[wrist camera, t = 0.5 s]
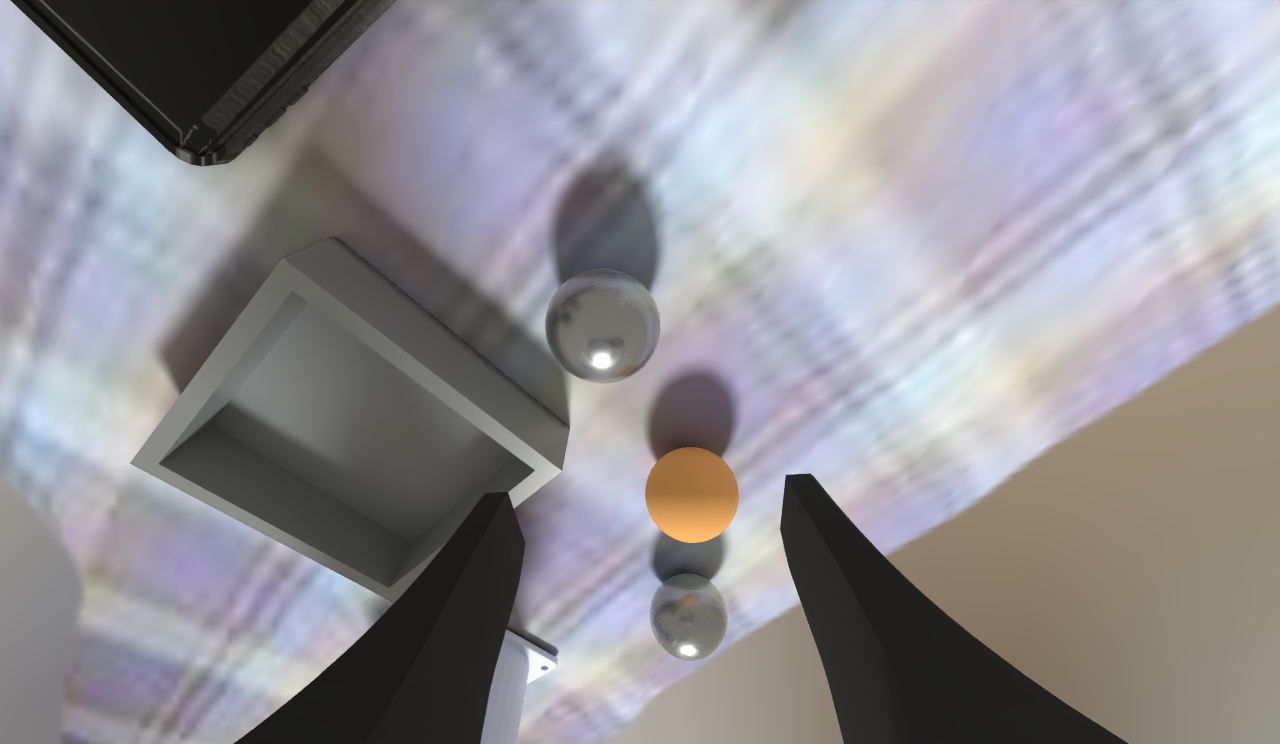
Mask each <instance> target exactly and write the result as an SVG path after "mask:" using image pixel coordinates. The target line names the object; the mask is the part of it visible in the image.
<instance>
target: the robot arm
mask: <svg viewBox="0 0 1280 744" xmlns="http://www.w3.org/2000/svg"><path fill="white" fill-rule="evenodd" d="M780 531H781V535H782V539H783V544H784V548H785V553H786V557H787V561H788V565H789V569H790V572H791V575H792V578H793V581H794V583H795V586H796V589H797V592H798V595H799V598H800V601H801V603H802V606H803V609H804V612H805V615H806V617H807V620H808V623H809V626H810V629H811V631H812V634H813V637H814V640H815V643H816V645H817V648H818V651H819V654H820V656H821V660H822V663H823V666H824V669H825V672H826V676H827V679H828V683H829V686H830V690H831V694H832V698H833V702H834V706H835V710H836V713H837V717H838V721H839V725H840V729H841V733H842V737H843V741H844V744H1128V743H1127V742H1125V741H1123V740H1122V739H1120V738H1119V737H1117V736H1116V735H1114V734H1112V733H1111V732H1109V731H1108V730H1106V729H1105V728H1103V727H1102V726H1100V725H1098V724H1097V723H1095V722H1094V721H1092V720H1090V719H1089V718H1087V717H1086V716H1084V715H1083V714H1081V713H1080V712H1078V711H1076V710H1075V709H1073V708H1072V707H1070V706H1069V705H1067V704H1066V703H1064V702H1063V701H1061V700H1060V699H1058V698H1057V697H1056V696H1054V695H1053V694H1051V693H1050V692H1048V691H1047V690H1045V689H1044V688H1042V687H1041V686H1040V685H1038V684H1037V683H1035V682H1034V681H1032V680H1031V679H1029V678H1028V677H1027V676H1025V675H1024V674H1023V673H1021V672H1020V671H1019V670H1017V669H1016V668H1015V667H1013V666H1012V665H1011V664H1009V663H1008V662H1007V661H1005V660H1004V659H1003V658H1001V657H1000V656H999V655H997V654H996V653H994V651H992V650H991V649H990V648H988V647H987V646H986V645H984V644H983V643H982V642H980V641H979V640H978V639H976V638H975V637H973V636H972V635H971V634H970V633H969V632H968V631H966V630H965V629H964V628H963V627H961V626H960V625H959V624H958V623H957V622H955V621H954V620H953V619H952V618H951V617H949V616H948V615H947V614H946V613H945V612H943V611H942V610H941V609H940V608H939V607H938V606H936V605H935V604H934V603H933V602H932V601H931V600H930V599H928V598H927V597H926V596H925V595H924V594H923V593H922V592H921V591H920V590H919V589H917V588H916V587H915V586H914V585H913V584H912V583H911V582H910V581H909V580H908V579H907V578H906V577H905V576H903V575H902V573H901V572H900V571H899V570H897V569H896V568H895V567H894V566H893V565H892V564H891V563H890V562H889V561H888V560H887V559H886V558H885V557H884V556H883V555H882V554H881V553H880V552H879V551H878V549H877V548H876V547H875V546H874V545H873V544H872V543H871V542H870V541H869V540H868V539H867V538H866V537H865V536H864V535H863V533H862V532H861V531H860V530H859V529H858V528H857V527H856V526H855V525H854V524H853V523H852V521H851V520H850V519H849V518H848V517H847V516H846V515H845V513H844V512H843V511H842V510H841V509H840V508H839V506H838V505H837V504H836V503H835V502H834V501H833V499H832V498H831V497H830V496H829V495H828V493H827V492H826V491H825V490H824V488H823V487H822V486H821V485H820V484H819V482H818V481H817V480H816V479H815V477H814V476H813V475H811V474H794V475H786V479H785V488H784V497H783V507H782V516H781V526H780ZM524 547H525V541H524V538H523V535H522V532H521V529H520V526H519V523H518V520H517V517H516V514H515V511H514V508H513V505H512V502H511V499H510V496H509V493H508V492H495V493H485V494H484V495H483V496H482V498H481V499H480V500H479V501H478V503H477V504H476V505H475V507H474V508H473V509H472V510H471V512H470V513H469V514H468V516H467V517H466V518H465V520H464V521H463V522H462V523H461V525H460V526H459V527H458V529H457V530H456V531H455V532H454V534H453V535H452V536H451V537H450V539H449V540H448V541H447V542H446V544H445V545H444V546H443V547H442V549H441V550H440V551H439V552H438V554H437V555H436V556H435V557H434V558H433V560H432V561H431V562H430V563H429V565H428V566H427V567H426V568H425V569H424V570H423V572H422V573H421V574H420V575H419V576H418V577H417V578H416V580H415V581H414V582H413V583H412V584H411V585H410V586H409V587H408V589H407V590H406V591H405V592H404V593H403V594H402V595H401V596H400V598H399V599H398V600H397V601H396V602H395V603H394V604H393V605H392V606H391V607H390V608H389V609H388V610H387V611H386V613H385V614H384V615H383V616H382V617H381V618H380V619H379V620H378V621H377V622H376V623H375V624H374V625H373V626H372V627H371V628H370V629H369V630H368V631H367V632H366V633H365V634H364V635H363V636H362V637H361V638H360V639H359V640H357V641H356V642H355V643H354V644H353V645H352V646H351V647H350V648H349V649H348V650H347V651H346V652H345V653H343V654H342V655H341V656H340V657H339V658H338V659H337V660H336V661H335V662H333V663H332V664H331V665H330V666H329V667H328V668H327V669H326V670H324V671H323V672H322V673H321V674H320V675H319V676H318V677H317V678H316V679H314V680H313V681H312V682H311V683H310V684H309V685H307V686H306V687H305V688H304V689H303V690H301V691H300V692H299V693H298V694H297V695H295V696H294V697H293V698H292V699H290V700H289V701H288V702H287V703H286V704H284V705H283V706H282V707H281V708H279V709H278V710H277V711H276V712H274V713H273V714H272V715H270V716H269V717H268V718H267V719H265V720H264V721H263V722H262V723H260V724H259V725H258V726H256V727H255V728H254V729H253V730H251V731H250V732H249V733H247V734H246V735H245V736H243V737H242V738H241V739H239V740H238V741H237V742H235V743H234V744H516V742H517V736H518V730H519V725H520V719H521V713H522V708H523V702H524V697H525V691H526V685H527V684H529V683H530V682H532V681H534V680H535V679H537V678H539V677H540V676H542V675H544V674H545V673H547V672H549V671H550V670H552V669H554V668H555V667H556V666H557V661H558V660H557V658H556V657H555V656H553V655H551V654H550V653H548V652H546V651H544V650H542V649H541V648H539V647H537V646H535V645H534V644H532V643H530V642H528V641H526V640H525V639H523V638H521V637H519V636H517V635H516V634H514V633H512V632H510V631H509V630H507V625H508V621H509V618H510V614H511V611H512V607H513V603H514V600H515V596H516V592H517V588H518V585H519V580H520V574H521V568H522V561H523V554H524Z"/></svg>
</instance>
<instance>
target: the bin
mask: <svg viewBox="0 0 1280 744" xmlns="http://www.w3.org/2000/svg"><path fill="white" fill-rule="evenodd" d="M569 430H570V427H568V426H567V425H566V424H565V423H564V422H562V421H561V420H560V419H559V418H557V417H556V416H555V415H554V414H552V413H551V412H550V411H549V410H548V409H546V408H545V407H544V406H543V405H541V404H540V403H539V402H538V401H537V400H535V399H534V398H533V397H532V396H530V395H529V394H528V393H527V392H526V391H524V390H523V389H522V388H521V387H519V386H518V385H517V384H516V383H514V382H513V381H512V380H511V379H510V378H508V377H507V376H506V375H505V374H503V373H502V372H501V371H500V370H499V369H497V368H496V367H495V366H494V365H492V364H491V363H490V362H489V361H487V360H486V359H485V358H484V357H483V356H481V355H480V354H479V353H478V352H476V351H475V350H474V349H473V348H472V347H470V346H469V345H468V344H467V343H465V342H464V341H463V340H462V339H461V338H459V337H458V336H457V335H456V334H454V333H453V332H452V331H451V330H449V329H448V328H447V327H446V326H445V325H443V324H442V323H441V322H440V321H438V320H437V319H436V318H435V317H434V316H432V315H431V314H430V313H429V312H427V311H426V310H425V309H424V308H422V307H421V306H420V305H419V304H418V303H416V302H415V301H414V300H413V299H411V298H410V297H409V296H408V295H407V294H405V293H404V292H403V291H402V290H400V289H399V288H398V287H397V286H396V285H394V284H393V283H392V282H391V281H389V280H388V279H387V278H386V277H384V276H383V275H382V274H381V273H380V272H378V271H377V270H376V269H375V268H373V267H372V266H371V265H370V264H369V263H367V262H366V261H365V260H364V259H362V258H361V257H360V256H359V255H358V254H356V253H355V252H354V251H353V250H351V249H350V248H349V247H348V246H346V245H345V244H344V243H343V242H342V241H340V240H339V239H338V238H337V237H335V236H334V237H332V238H329V239H327V240H325V241H322V242H320V243H317V244H315V245H312V246H310V247H307V248H305V249H302V250H300V251H297V252H295V253H292V254H290V255H288V256H285V257H283V258H282V259H281V260H280V261H279V263H278V264H277V265H276V267H275V268H274V269H273V271H272V272H271V273H270V275H269V276H268V277H267V279H266V280H265V282H264V283H263V284H262V286H261V287H260V288H259V290H258V291H257V292H256V294H255V295H254V296H253V298H252V299H251V300H250V302H249V303H248V304H247V306H246V307H245V309H244V310H243V311H242V313H241V314H240V315H239V317H238V318H237V319H236V321H235V322H234V323H233V325H232V326H231V327H230V329H229V330H228V332H227V333H226V334H225V336H224V337H223V338H222V340H221V341H220V342H219V344H218V345H217V346H216V348H215V349H214V350H213V352H212V353H211V354H210V356H209V357H208V359H207V360H206V361H205V363H204V364H203V365H202V367H201V368H200V369H199V371H198V372H197V373H196V375H195V376H194V377H193V379H192V380H191V381H190V383H189V384H188V386H187V387H186V388H185V390H184V391H183V392H182V394H181V395H180V396H179V398H178V399H177V400H176V402H175V403H174V404H173V406H172V407H171V409H170V410H169V411H168V413H167V414H166V415H165V417H164V418H163V419H162V421H161V422H160V423H159V425H158V426H157V427H156V429H155V430H154V431H153V433H152V434H151V436H150V437H149V438H148V440H147V441H146V442H145V444H144V445H143V446H142V448H141V449H140V450H139V452H138V453H137V454H136V456H135V457H134V459H133V460H132V461H131V463H130V464H132V465H134V466H136V467H137V468H139V469H141V470H143V471H145V472H147V473H149V474H151V475H153V476H155V477H156V478H158V479H160V480H162V481H164V482H166V483H168V484H170V485H172V486H174V487H175V488H177V489H179V490H181V491H183V492H185V493H187V494H189V495H191V496H192V497H194V498H196V499H198V500H200V501H202V502H204V503H206V504H208V505H210V506H211V507H213V508H215V509H217V510H219V511H221V512H223V513H225V514H227V515H229V516H230V517H232V518H234V519H236V520H238V521H240V522H242V523H244V524H246V525H247V526H249V527H251V528H253V529H255V530H257V531H259V532H261V533H263V534H265V535H266V536H268V537H270V538H272V539H274V540H276V541H278V542H280V543H282V544H284V545H285V546H287V547H289V548H291V549H293V550H295V551H297V552H299V553H301V554H302V555H304V556H306V557H308V558H310V559H312V560H314V561H316V562H318V563H320V564H321V565H323V566H325V567H327V568H329V569H331V570H333V571H335V572H337V573H338V574H340V575H342V576H344V577H346V578H348V579H350V580H352V581H354V582H356V583H357V584H359V585H361V586H363V587H365V588H367V589H369V590H371V591H373V592H375V593H376V594H378V595H380V596H382V597H384V598H386V599H388V600H390V601H392V602H393V603H394V602H395V601H397V600H398V599H399V598H400V596H401V595H402V594H403V593H404V592H405V591H406V590H407V589H408V587H409V586H410V585H411V584H412V583H413V582H414V581H415V580H416V578H417V577H418V576H419V575H420V574H421V573H422V572H423V570H424V569H425V568H426V567H427V566H428V565H429V563H430V562H431V561H432V560H433V558H434V557H435V556H436V555H437V554H438V552H439V551H440V550H441V549H442V547H443V546H444V545H445V544H446V542H447V541H448V540H449V539H450V537H451V536H452V535H453V534H454V532H455V531H456V530H457V529H458V527H459V526H460V525H461V523H462V522H463V521H464V520H465V518H466V517H467V516H468V514H469V513H470V512H471V510H472V509H473V508H474V507H475V505H476V504H477V503H478V501H479V500H480V499H481V498H482V496H483V495H484V494H485V493H495V492H508V493H509V496H510V499H511V502H512V505H513V508H515V507H517V506H518V505H519V504H520V503H522V502H523V501H524V500H526V499H527V498H528V497H529V496H531V495H532V494H533V493H535V492H536V491H537V490H538V489H540V488H541V487H542V486H543V485H545V484H546V483H547V482H549V481H550V480H551V479H552V478H554V477H555V476H556V475H558V474H559V473H560V472H561V471H562V468H563V463H564V457H565V452H566V446H567V441H568V436H569Z"/></svg>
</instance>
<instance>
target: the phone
mask: <svg viewBox="0 0 1280 744" xmlns="http://www.w3.org/2000/svg"><path fill="white" fill-rule="evenodd" d="M11 1H12V2H13V3H14V4H15V5H16V6H17V7H18V8H19V9H20V10H21V11H22V12H23V13H24V14H25V15H26V16H27V17H28V18H30V19H31V20H32V21H33V22H34V23H35V24H36V25H37V26H38V27H39V28H40V29H41V30H42V31H43V32H44V33H45V34H46V35H47V36H48V37H50V38H51V39H52V40H53V41H54V42H55V43H56V44H57V45H58V46H59V47H60V48H61V49H62V50H63V51H64V52H65V53H66V54H67V55H68V56H70V57H71V58H72V59H73V60H74V61H75V62H76V63H77V64H78V65H79V66H80V67H81V68H82V69H83V70H84V71H85V72H86V73H87V74H88V75H89V76H91V77H92V78H93V79H94V80H95V81H96V82H97V83H98V84H99V85H100V86H101V87H102V88H103V89H104V90H105V91H106V92H107V93H108V94H109V95H111V96H112V97H113V98H114V99H115V100H116V101H117V102H118V103H119V104H120V105H121V106H122V107H123V108H124V109H125V110H126V111H127V112H128V113H129V114H130V115H132V116H133V117H134V118H135V119H136V120H137V121H138V122H139V123H140V124H141V125H142V126H143V127H144V128H145V129H146V130H147V131H148V132H149V133H150V134H152V135H153V136H154V137H155V138H156V139H157V140H158V141H159V142H160V143H161V144H162V145H163V146H164V147H165V148H166V149H167V150H168V151H170V152H171V153H172V154H174V155H175V156H176V157H177V158H179V159H181V160H183V161H185V162H187V163H189V164H192V165H197V166H209V165H217V164H225V163H229V162H230V161H232V160H234V159H235V158H236V157H237V156H238V155H239V154H240V153H241V152H242V151H243V150H244V149H246V148H247V147H249V146H250V145H251V144H252V143H253V142H254V141H255V140H256V139H257V138H258V136H259V135H260V134H261V133H262V132H263V131H264V130H265V129H266V128H267V127H270V126H271V125H272V124H273V123H274V122H275V121H276V120H277V119H278V118H279V117H280V116H281V115H282V114H283V113H284V112H285V111H286V108H287V107H288V106H289V105H294V104H295V103H296V102H297V101H298V100H299V99H300V98H301V97H302V96H303V95H304V94H305V93H306V92H307V91H308V89H307V88H308V87H309V86H310V85H311V84H312V83H313V82H314V81H315V80H316V79H317V78H318V77H319V76H320V75H321V74H322V73H323V72H324V71H325V70H326V69H327V68H328V67H329V66H330V65H331V64H332V63H333V62H334V61H335V60H336V59H337V58H338V57H339V56H340V55H341V54H342V53H343V52H344V51H345V50H346V49H347V48H348V47H349V46H350V45H351V44H352V43H353V42H354V41H355V40H357V39H358V38H359V37H360V36H361V35H362V34H363V33H364V32H365V31H366V30H367V29H368V28H369V27H370V26H371V25H372V24H373V23H374V22H375V21H376V20H377V19H378V18H379V17H380V16H381V15H382V14H383V13H384V12H385V11H386V10H387V9H388V8H389V7H390V6H391V5H392V4H393V3H394V2H395V1H396V0H11Z"/></svg>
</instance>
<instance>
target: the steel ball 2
mask: <svg viewBox="0 0 1280 744" xmlns="http://www.w3.org/2000/svg"><path fill="white" fill-rule="evenodd" d="M650 623H651V627H652V631H653V633H654V635H655V638H656V639H657V641H658V643H659V644H660V645H661V646H662V648H663V649H664V650H666V651H667V652H668V653H669V654H671V655H673V656H674V657H677V658H679V659H683V660H698V659H702V658H704V657H706V656H708V655H710V654H711V653H712V652H713V651H715V650H716V649H717V647H718V646H719V645H720V643H721V642H722V640H723V638H724V635H725V632H726V628H727V609H726V605H725V602H724V600H723V597H722V595H721V594H720V592H719V591H718V589H717V588H716V587H715V586H714V585H713V584H712V583H711V582H710V581H709V580H707V579H705V578H704V577H702V576H699V575H696V574H691V573H683V574H678V575H675V576H672V577H670V578H669V579H667V580H666V581H665V582H663V583H662V584H661V585H660V587H659V588H658V589H657V591H656V592H655V594H654V597H653V599H652V602H651V607H650Z"/></svg>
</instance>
